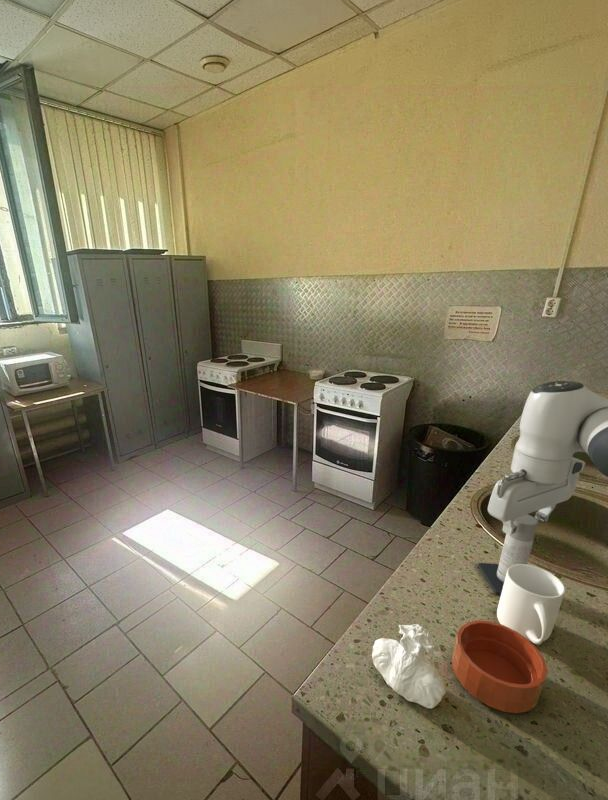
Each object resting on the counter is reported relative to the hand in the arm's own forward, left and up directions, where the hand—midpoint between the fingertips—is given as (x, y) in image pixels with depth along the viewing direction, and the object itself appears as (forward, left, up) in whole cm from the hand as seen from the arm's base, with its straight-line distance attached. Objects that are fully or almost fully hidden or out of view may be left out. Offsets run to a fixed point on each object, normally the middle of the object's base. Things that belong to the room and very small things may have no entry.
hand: (524, 526), depth 80 cm
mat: (0, 0, -14) cm, 14 cm away
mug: (+4, +14, -14) cm, 20 cm away
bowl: (+13, +24, -14) cm, 31 cm away
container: (0, 0, -13) cm, 13 cm away
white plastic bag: (+27, +26, -14) cm, 41 cm away
